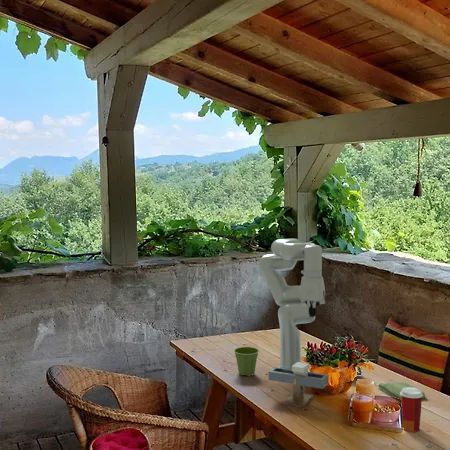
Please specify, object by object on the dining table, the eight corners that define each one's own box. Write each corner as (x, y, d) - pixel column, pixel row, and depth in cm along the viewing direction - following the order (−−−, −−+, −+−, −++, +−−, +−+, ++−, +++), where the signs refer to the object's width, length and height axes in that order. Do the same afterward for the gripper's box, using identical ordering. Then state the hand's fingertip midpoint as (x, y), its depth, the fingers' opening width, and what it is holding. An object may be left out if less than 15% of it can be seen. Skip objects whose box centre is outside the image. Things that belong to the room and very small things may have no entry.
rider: (291, 377, 230) (291, 366, 229) (297, 373, 235) (297, 361, 235) (303, 379, 227) (303, 368, 227) (309, 374, 233) (309, 363, 233)
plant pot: (229, 376, 264) (229, 352, 263) (240, 368, 274) (240, 345, 273) (252, 380, 258) (252, 355, 258) (263, 372, 269) (263, 348, 268)
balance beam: (266, 401, 233) (266, 372, 232) (277, 391, 243) (277, 364, 242) (320, 411, 222) (320, 381, 221) (330, 400, 232) (330, 372, 232)
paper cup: (417, 424, 209) (418, 386, 208) (425, 433, 201) (426, 394, 200) (396, 424, 209) (396, 387, 208) (403, 434, 201) (404, 394, 200)
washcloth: (402, 385, 250) (402, 378, 250) (427, 399, 234) (427, 392, 233) (375, 388, 247) (375, 381, 247) (399, 403, 230) (399, 395, 230)
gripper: (293, 273, 246) (292, 316, 248) (326, 276, 239) (326, 320, 240) (299, 271, 253) (299, 312, 254) (332, 274, 245) (332, 316, 247)
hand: (312, 316), depth 247 cm, fingers closed
